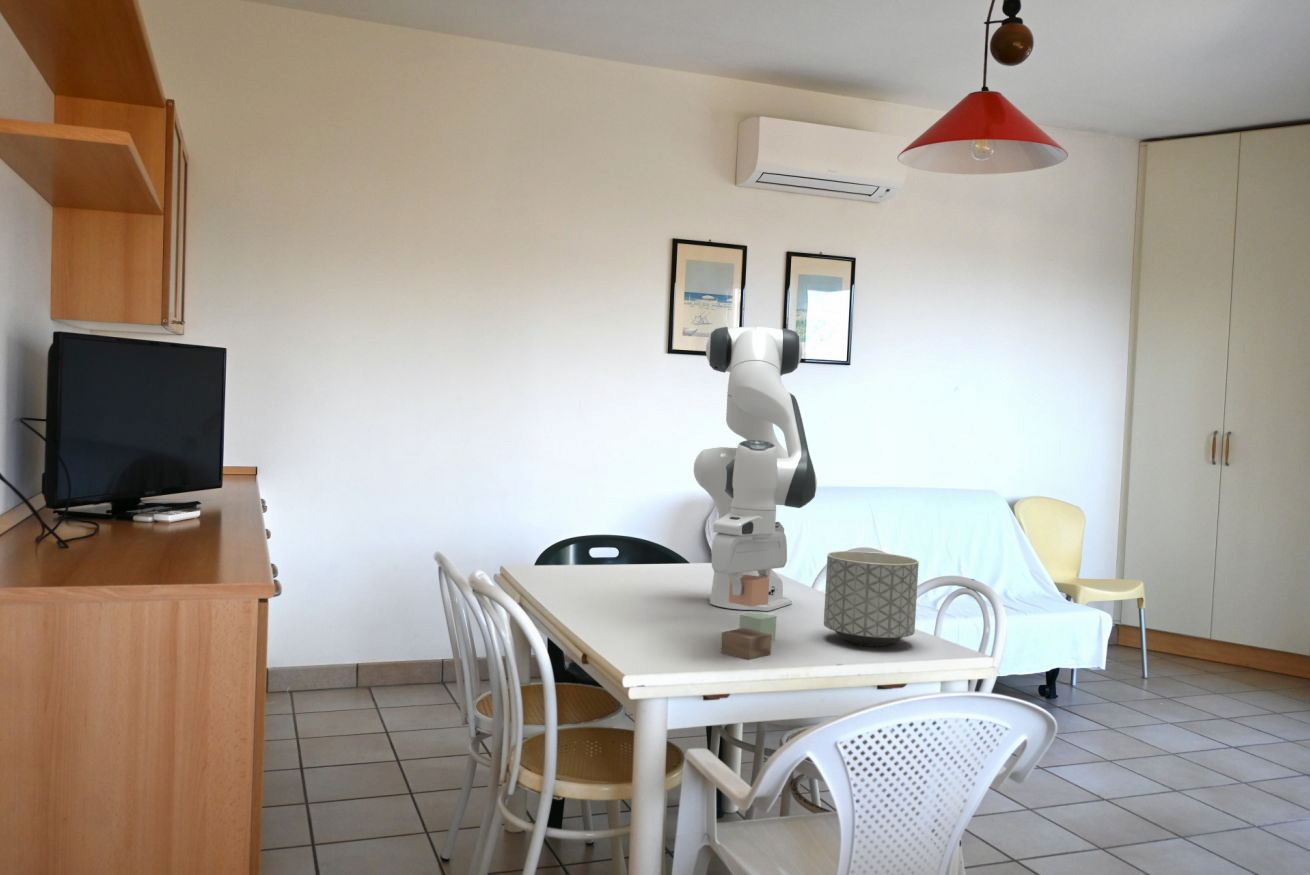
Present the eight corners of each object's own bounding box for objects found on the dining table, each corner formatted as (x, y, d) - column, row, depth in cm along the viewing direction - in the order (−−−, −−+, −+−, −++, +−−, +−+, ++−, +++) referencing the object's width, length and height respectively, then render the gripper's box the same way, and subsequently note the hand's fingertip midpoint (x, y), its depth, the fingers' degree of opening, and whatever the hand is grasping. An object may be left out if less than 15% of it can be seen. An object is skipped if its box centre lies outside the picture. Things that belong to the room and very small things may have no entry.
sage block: (754, 635, 215) (755, 611, 215) (775, 639, 211) (776, 616, 211) (738, 638, 211) (739, 614, 210) (759, 643, 207) (760, 619, 207)
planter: (896, 657, 200) (902, 567, 200) (808, 641, 210) (813, 556, 210) (925, 642, 216) (930, 558, 216) (842, 628, 226) (846, 548, 226)
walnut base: (742, 647, 201) (743, 627, 201) (770, 654, 197) (771, 634, 197) (720, 652, 196) (721, 632, 196) (749, 659, 191) (750, 638, 191)
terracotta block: (745, 599, 200) (747, 574, 200) (768, 603, 196) (769, 578, 196) (728, 602, 196) (730, 576, 196) (751, 606, 192) (752, 580, 192)
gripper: (771, 519, 206) (767, 586, 206) (707, 523, 191) (703, 595, 191) (796, 522, 201) (792, 591, 202) (733, 526, 186) (729, 600, 187)
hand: (748, 593), depth 196 cm, fingers closed on terracotta block, 5 cm apart
